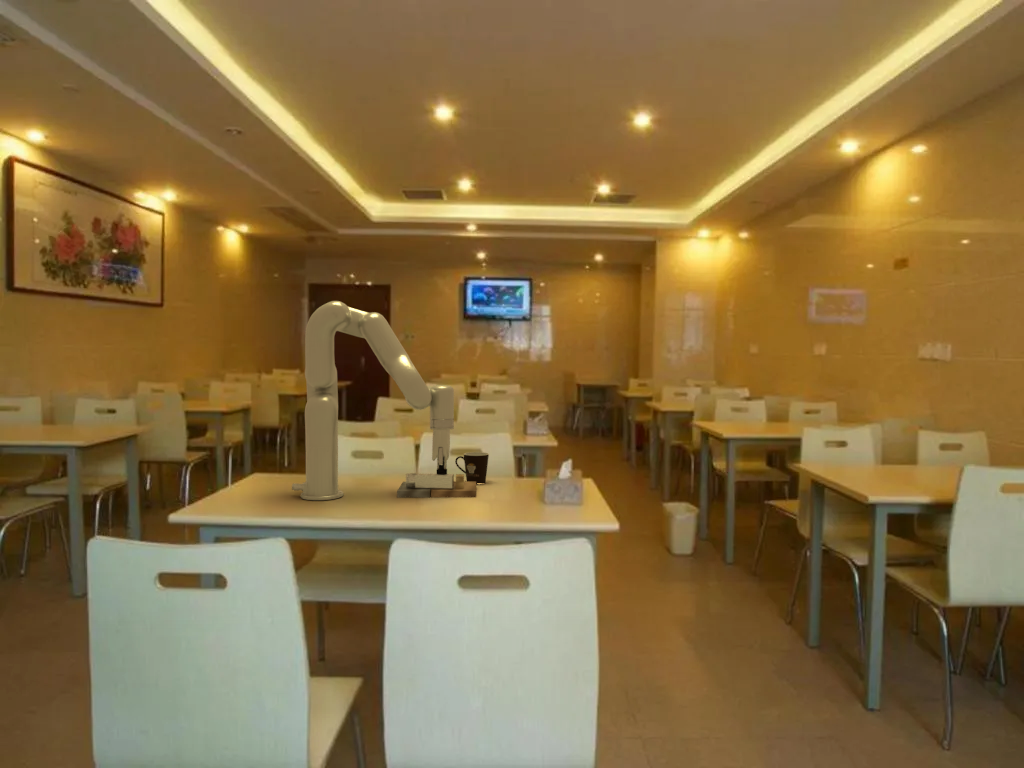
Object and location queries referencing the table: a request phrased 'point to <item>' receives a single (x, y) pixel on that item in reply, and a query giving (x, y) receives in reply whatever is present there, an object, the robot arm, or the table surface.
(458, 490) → the wooden flat block
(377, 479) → the table surface
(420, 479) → the lock bar
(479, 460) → the coffee mug
